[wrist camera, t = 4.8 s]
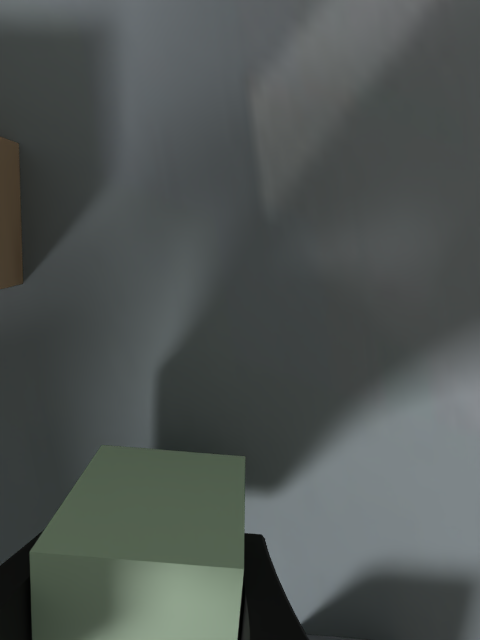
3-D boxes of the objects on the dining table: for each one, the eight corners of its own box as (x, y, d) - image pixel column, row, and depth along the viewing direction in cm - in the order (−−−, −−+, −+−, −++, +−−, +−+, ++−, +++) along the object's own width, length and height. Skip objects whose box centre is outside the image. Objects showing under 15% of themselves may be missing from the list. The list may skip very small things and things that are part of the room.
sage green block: (100, 567, 14) (34, 719, 10) (101, 444, 13) (29, 551, 9) (234, 578, 14) (228, 734, 10) (245, 456, 13) (243, 568, 9)
